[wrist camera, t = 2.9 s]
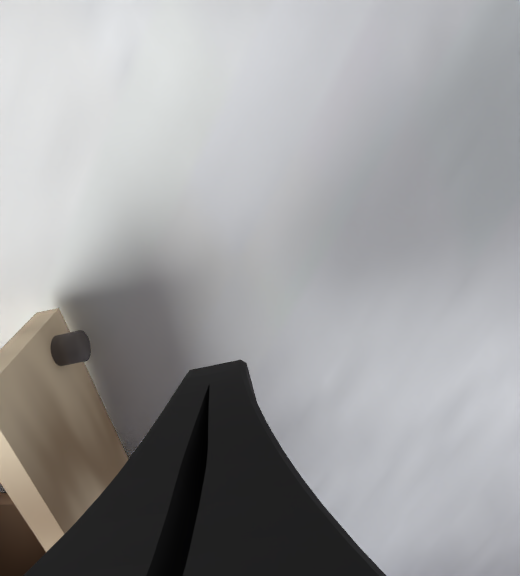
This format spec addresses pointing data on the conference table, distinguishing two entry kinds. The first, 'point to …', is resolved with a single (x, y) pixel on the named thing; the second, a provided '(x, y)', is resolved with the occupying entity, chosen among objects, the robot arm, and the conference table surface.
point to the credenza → (16, 541)
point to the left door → (53, 427)
